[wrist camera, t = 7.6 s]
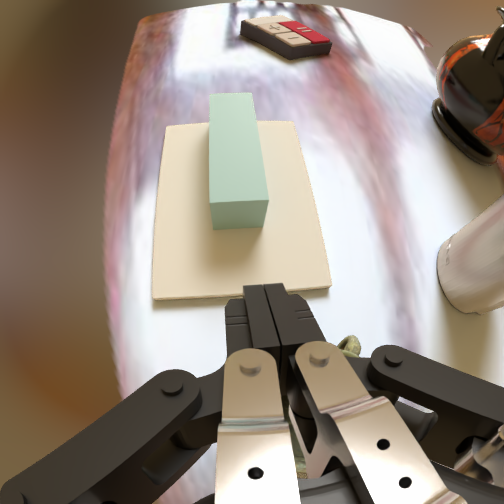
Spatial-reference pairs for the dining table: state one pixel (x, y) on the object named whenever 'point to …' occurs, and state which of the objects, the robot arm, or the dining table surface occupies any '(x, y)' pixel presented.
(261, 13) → the dining table surface
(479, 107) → the amphora vase
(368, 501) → the robot arm
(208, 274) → the mat
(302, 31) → the calculator
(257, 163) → the block
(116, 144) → the dining table surface
